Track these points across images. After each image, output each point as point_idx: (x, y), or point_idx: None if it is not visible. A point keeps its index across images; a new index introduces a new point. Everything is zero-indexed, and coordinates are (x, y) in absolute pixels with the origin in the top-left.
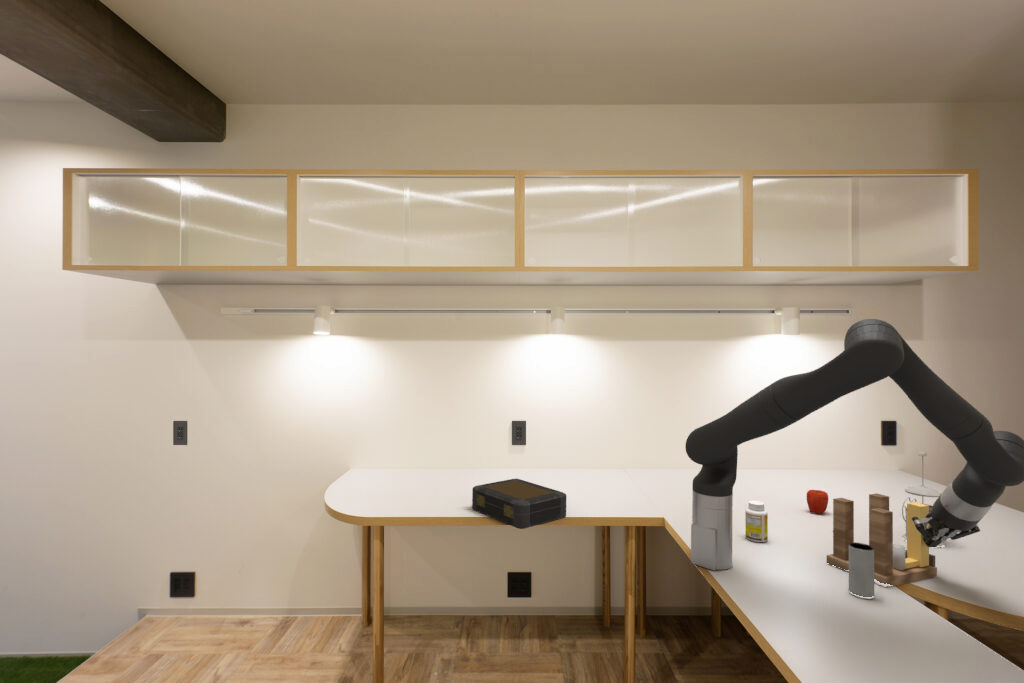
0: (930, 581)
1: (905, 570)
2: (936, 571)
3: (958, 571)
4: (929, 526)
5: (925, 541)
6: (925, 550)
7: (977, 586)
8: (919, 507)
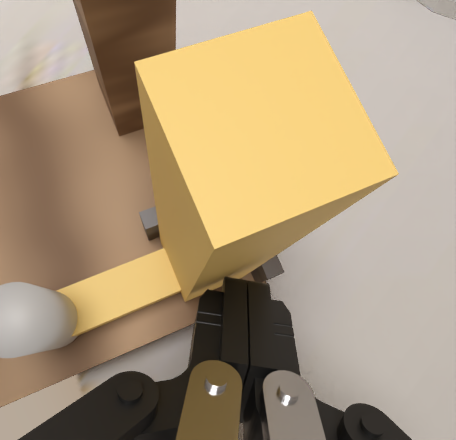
0: (189, 351)
1: (77, 338)
2: None
3: (388, 236)
4: (177, 432)
5: (193, 332)
6: None
7: (358, 389)
8: (205, 233)
